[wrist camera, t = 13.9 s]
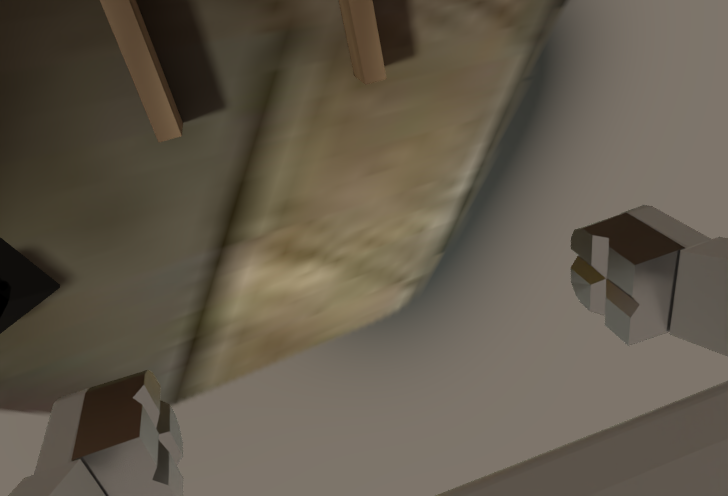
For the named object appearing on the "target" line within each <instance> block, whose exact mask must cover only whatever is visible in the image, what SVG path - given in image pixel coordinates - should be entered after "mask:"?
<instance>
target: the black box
mask: <svg viewBox="0 0 728 496" xmlns="http://www.w3.org/2000/svg"><path fill="white" fill-rule="evenodd" d="M59 288H60V285H59V284H58V283H57V282H56V281H54V280H53V279H52V278H51V277H49V276H48V275H47V274H46V273H44V272H43V271H42V270H40V269H39V268H38V267H37V266H35V265H34V264H33V263H32V262H30V261H29V260H28V259H27V258H25V257H24V256H23V255H22V254H20V253H19V252H18V251H17V250H15V249H14V248H13V247H12V246H10V245H9V244H8V243H7V242H5V241H4V240H3V239H2V238H0V333H2V332H3V331H4V330H6V329H7V328H8V327H9V326H11V325H12V324H13V323H15V322H16V321H17V320H18V319H20V318H21V317H22V316H24V315H25V314H26V313H28V312H29V311H30V310H31V309H33V308H34V307H35V306H37V305H38V304H39V303H41V302H42V301H43V300H44V299H46V298H47V297H48V296H50V295H51V294H52V293H54V292H55V291H56V290H57V289H59Z"/></svg>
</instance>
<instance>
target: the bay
mask: <svg viewBox="0 0 728 496" xmlns="http://www.w3.org/2000/svg"><path fill="white" fill-rule="evenodd" d="M100 2H101V4H102V7H103V9H104V11H105V14H106V16H107V19H108V21H109V24H110V26H111V28H112V31H113V33H114V36H115V38H116V40H117V43H118V45H119V48H120V50H121V53H122V55H123V57H124V60H125V62H126V65H127V67H128V69H129V72H130V74H131V77H132V79H133V82H134V84H135V86H136V89H137V91H138V94H139V96H140V98H141V101H142V103H143V106H144V108H145V111H146V113H147V115H148V118H149V120H150V123H151V125H152V127H153V130H154V132H155V135H156V137H157V140H158V142H162V141H166V140H169V139H173V138H177V137H180V136H182V128H183V122H182V120H181V117H180V114H179V112H178V109H177V106H176V104H175V101H174V99H173V96H172V93H171V91H170V88H169V86H168V83H167V80H166V78H165V75H164V72H163V70H162V67H161V65H160V62H159V59H158V57H157V54H156V52H155V49H154V46H153V44H152V41H151V39H150V36H149V33H148V31H147V28H146V25H145V23H144V20H143V18H142V15H141V12H140V10H139V7H138V5H137V2H136V0H100ZM339 5H340V9H341V14H342V19H343V24H344V28H345V33H346V38H347V43H348V47H349V52H350V57H351V62H352V67H353V71H354V76H355V77H357V78H358V79H359V80H360V81H362V82H363V83H364V84H365V85H367V84H370V83H374V82H377V81H381V80H384V79H387V78H386V73H385V67H384V62H383V56H382V51H381V45H380V39H379V34H378V28H377V23H376V17H375V12H374V6H373V1H372V0H339Z"/></svg>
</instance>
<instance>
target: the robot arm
mask: <svg viewBox="0 0 728 496" xmlns="http://www.w3.org/2000/svg"><path fill="white" fill-rule="evenodd" d="M571 249H572V250H573V251H574V252H575V254H576V255H577V258H576V260H575V261H574V263H573V265H572V266H571V283H572V286H573V289H574V291H575V294H576V296H577V297H578V299H579V300H580V302H581V303H582V304H583V305H584V306H585V307H586V308H587V309H588V310H589V311H591V312H594V313H598V314H601V315H604V316H605V325H606V326H607V327H608V328H609V329H610V330H611V331H612V332H614V333H615V334H616V335H617V336H618V337H619V338H620V339H621V340H622V341H624V342H625V343H626V344H627V345H628V346H629V345H632V344H635V343H638V342H641V341H644V340H647V339H650V338H653V337H656V336H658V335H662V334H665V333H668V332H670V333H669V334H670V335H673V336H675V337H678V338H681V339H683V340H686V341H689V342H691V343H694V344H697V345H699V346H702V347H704V348H707V349H709V350H712V351H715V352H717V353H720V354H723V355H725V356H728V238H722V237H718V238H715V239H711V238H709V237H707V236H705V235H703V234H701V233H700V232H698V231H696V230H694V229H692V228H691V227H689V226H687V225H685V224H683V223H682V222H680V221H678V220H676V219H674V218H672V217H671V216H669V215H667V214H665V213H663V212H661V211H660V210H658V209H656V208H654V207H653V206H647V205H642V206H640V207H637V208H634V209H631V210H628V211H626V212H623V213H621V214H620V215H617V216H614V217H611V218H608V219H605V220H602V221H599V222H596V223H593V224H590V225H587V226H585V227H581V228H578V229H575V230H574V232H573V234H572V237H571ZM160 388H161V386H160V384H159V383H158V381H157V379H156V377H155V376H154V374H153V373H152V372H151V371H149V370H146V371H143V372H139V373H136V374H133V375H130V376H126V377H123V378H120V379H117V380H113V381H110V382H107V383H104V384H100V385H97V386H94V387H91V388H89V389H85V390H81V391H78V392H75V393H72V394H69V395H66V396H63V397H60V398H59V399H58V400H57V401H56V402H55V403H54V404H53V408H52V411H51V415H50V418H49V422H48V426H47V429H46V433H45V436H44V440H43V444H42V447H41V451H40V454H39V458H38V462H37V466H36V469H35V473H34V475H32V476H29V477H26V478H24V479H23V480H22V481H21V482H20V483H19V484H18V485H17V487H16V488H15V489H14V490H13V491H12V492H11V493H10V494H9V495H8V496H183V476H182V475H181V473H180V471H179V469H178V467H177V465H178V463H179V462H180V460H181V459H182V457H183V442H182V437H181V432H180V427H179V424H178V421H177V418H176V416H175V413H174V411H173V409H172V407H171V405H170V404H168V403H166V402H163V401H161V400H160ZM436 496H728V381H726V382H724V383H721V384H719V385H716V386H713V387H711V388H708V389H706V390H703V391H701V392H698V393H696V394H693V395H690V396H688V397H685V398H683V399H681V400H678V401H675V402H673V403H670V404H668V405H665V406H663V407H660V408H657V409H655V410H652V411H650V412H647V413H645V414H642V415H640V416H637V417H635V418H632V419H629V420H627V421H624V422H622V423H619V424H617V425H614V426H611V427H609V428H606V429H604V430H601V431H599V432H596V433H594V434H591V435H589V436H586V437H584V438H581V439H578V440H576V441H573V442H571V443H568V444H566V445H563V446H561V447H558V448H555V449H553V450H550V451H548V452H546V453H543V454H540V455H538V456H535V457H533V458H530V459H528V460H525V461H522V462H520V463H517V464H515V465H513V466H510V467H507V468H505V469H502V470H499V471H497V472H494V473H492V474H489V475H487V476H484V477H482V478H479V479H477V480H474V481H471V482H469V483H466V484H464V485H462V486H459V487H456V488H454V489H451V490H448V491H446V492H443V493H441V494H438V495H436Z"/></svg>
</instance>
